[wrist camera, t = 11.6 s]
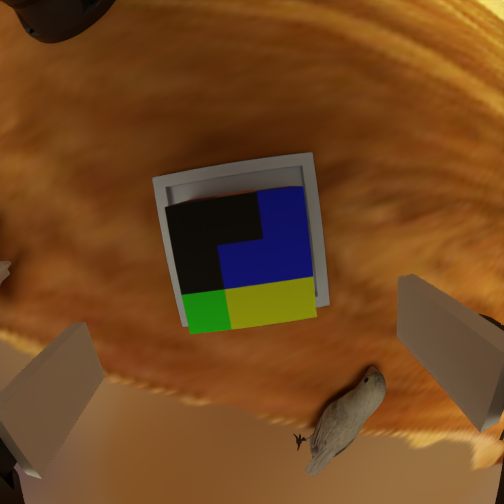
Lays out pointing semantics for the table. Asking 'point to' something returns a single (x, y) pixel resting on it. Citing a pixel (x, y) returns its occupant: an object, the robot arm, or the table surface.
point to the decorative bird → (344, 420)
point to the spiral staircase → (4, 270)
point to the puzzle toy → (243, 258)
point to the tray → (238, 180)
